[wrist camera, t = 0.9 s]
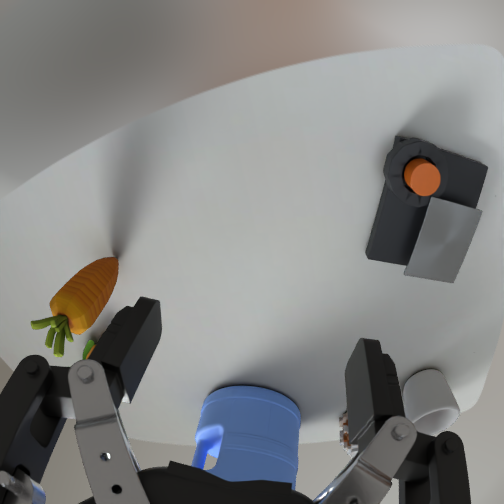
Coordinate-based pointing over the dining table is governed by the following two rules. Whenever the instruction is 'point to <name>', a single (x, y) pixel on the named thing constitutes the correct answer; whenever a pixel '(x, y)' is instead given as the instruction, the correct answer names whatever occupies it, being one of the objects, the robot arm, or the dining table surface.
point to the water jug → (249, 435)
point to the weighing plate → (442, 240)
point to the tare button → (422, 177)
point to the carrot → (79, 302)
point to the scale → (418, 196)
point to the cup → (430, 402)
